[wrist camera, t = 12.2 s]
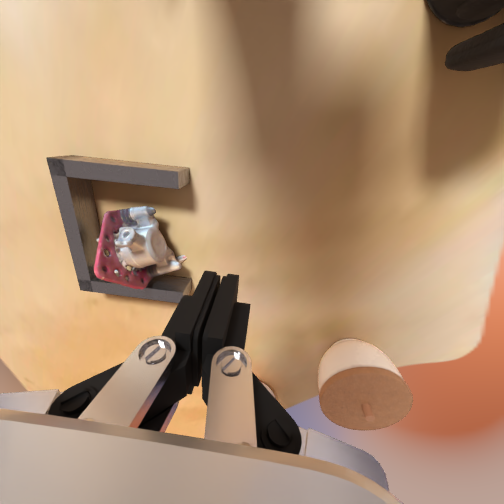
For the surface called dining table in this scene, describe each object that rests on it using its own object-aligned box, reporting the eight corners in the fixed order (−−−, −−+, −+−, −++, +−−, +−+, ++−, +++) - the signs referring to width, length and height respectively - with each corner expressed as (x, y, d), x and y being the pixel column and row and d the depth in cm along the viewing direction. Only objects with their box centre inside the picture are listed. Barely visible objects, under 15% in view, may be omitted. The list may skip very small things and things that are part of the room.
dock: (71, 155, 33) (46, 157, 29) (189, 167, 32) (178, 171, 28) (97, 276, 41) (80, 290, 37) (191, 288, 40) (183, 303, 37)
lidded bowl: (313, 325, 41) (324, 385, 31) (392, 325, 40) (431, 389, 30) (311, 377, 46) (320, 442, 36) (381, 379, 45) (410, 448, 35)
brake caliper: (76, 217, 34) (66, 230, 24) (154, 192, 38) (173, 195, 28) (114, 285, 38) (120, 320, 28) (180, 256, 43) (204, 277, 33)
